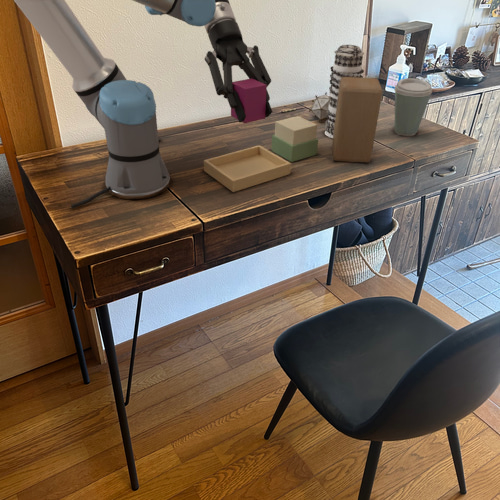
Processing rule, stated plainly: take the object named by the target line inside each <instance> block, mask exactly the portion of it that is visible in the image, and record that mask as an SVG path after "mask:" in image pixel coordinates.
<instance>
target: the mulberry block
mask: <svg viewBox="0 0 500 500" xmlns="http://www.w3.org/2000/svg"><path fill="white" fill-rule="evenodd" d="M232 85H233V91H232V92H234V91H237V93H238V96H239V99H240V101H241V104H242V107H243V109H244V112H245V115H246V118H245V119H244V120H243V122H242V123H243V124H249V123H253V122H258V121H261V120H265V119H266V117H265V116H266V89H267V88H268V87H267V85H266V84H263V83H261V82H259V81H257V80H254V79H252V78H251V79H249V78H246V79H241V80H235V81H232ZM267 90H268V89H267ZM230 117H233V118H234V119H235V120H238V118H237V115H236V112H235V110H234V108H233V109H232V108H231V107H230Z"/></svg>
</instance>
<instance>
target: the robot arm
mask: <svg viewBox="0 0 500 500" xmlns="http://www.w3.org/2000/svg"><path fill="white" fill-rule="evenodd" d="M13 1H14V3H15V4H16V5H17V7H18V9H20V11H21V13H23V15H24V16H25V17H26V19H27V20H28V22H30V24H31V25H32V27H33V28H34V29H35V31H36V32H37V33H38V35H40V37H41V38H42V40H43V41H44V42H45V44H46V45H47V46H48V48H49V49H50V50H51V51H52V53H53V54H54V56H55V57H56V58H57V59H58V60H59V62H60V63H61V65H62V66H63V67H64V69H65V70H66V71H67V73H68V74H69V75H70V76H71V78H72V84H71V85H72V90H73V91H74V93H75V94H76V95H77V96H78V97H79V99H80V100H81V101H82V103H83V104H84V105H85V108H86V110H87V111H88V112H89V113H90V114H91V115H92V116H93V117H94V118H95V119H96V121H97V122H99V124H100V126H101V127H102V128H103V129H104V130H103V131H104V134H105V140H106V146H107V152H108V161H107V167H106V172H105V179H104V180H105V181H104V182H105V188H103V189H102V190H100V191H98V192H96V193H94V194H92V195H90V196H89V197H87V198H86V199H83V200H81V201H79V202H76V203H72V204H70V207H71V209H75V208H77V207H81V206H84V205H86V204H88V203H90V202H92V201H93V200H95V199H96V198H98V197H100V196H102V195H104V194H106V193H108V194H110V195H111V196H113V197H116V198H119V199H122V200H123V199H124V200H143V199H149V198H152V197H156V196H158V195H160V194H162V193H164V192H165V191H167V190H168V188H169V187H170V185H171V177H170V173H169V171H168V169H167V165H166V163H165V161H164V159H163V158H162V155H161V151H160V142H159V141H158V139H159V131H158V122H157V121H158V120H157V119H158V118H157V103H156V100H155V96H154V92H153V90H152V89H151V88H150V86H148V85H147V84H145V83H143V82H140V81H138V82H137V81H136V80H130V79H127V78H126V77H125V75H124V73H123V72H122V70H121V68H119V66H118V64H117V63H116V62H115V60H114V59H111V58H108V57H104V55H103V54H102V52H101V51H100V50H99V48H98V47H97V45H96V44H95V42H94V41H93V39H92V38H91V36H90V35H89V34H88V32H87V31H86V29H85V28H84V26H83V25H82V23H81V22H80V21H79V19H78V17H77V16H76V15H75V13H74V12H73V10H72V8H71V7H70V5H69V4H68V3H67V1H66V0H13ZM132 2H135V3H137V4H139V5H143V6H144V8H145V10H146V12H147V13H148V14H149V15H151V16H163V15H167V16H170V17H171V18H174V19H177V20H179V21H182V22H185V24H187V25H189V26H192V27H198V28H199V27H204V28H205V32H206V34H207V37H208V40H209V42H210V45H211V47H212V49H213V51H211V50H208V51H207V52H206V55H205V57H204V61H205V63H206V64H207V66H208V68H209V72H210V75H211V78H212V82H213V85H214V89H215V92H216V95H217V96H223V98H224V99H226V100H227V102H228V104H229V108H230V109H231V108H232V109H233V108H234V110H235V112H236V115H237V118H238V119H237V121H238V123H243V120H244V119H245V118H246V115H245V112H244V109H243V107H242V104H241V101H240V99H239V96H238V93H237V91H234V92H232V91H233V85H232V82H233V66H236V67H237V66H238V67H239V70H242V71H243V72H244V74H245V75H246V76H247V78H248V79H251V78H252V79H254V80H257V81H259V82H261V83H263V84H266V85H267V88H268V87H269V85H270V84H271V83H272V78H271V76H270V74H269V72H268V70H267V68H266V66H265V64H264V62H263V59H262V57H261V55H260V49H259V47H258V45H254V46H253V47H251V46H248V45H247V44H246V43H245V42H244V40H243V34H242V31H241V29H240V26H239V24H238V22H237V18H236V16H235V14H234V11H233V8H232V6H231V4H230V1H229V0H132ZM218 61H220V62H221V64H222V73H223V76H222V74H221V70H220V66H219V63H218ZM270 100H271V97H270V94H269V91H268V89H266V116H265V118H269V117H270V115H271V114H272V113H273V109H272V107H271V105H270Z"/></svg>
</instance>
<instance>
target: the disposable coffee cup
mask: <svg viewBox="0 0 500 500" xmlns="http://www.w3.org/2000/svg"><path fill="white" fill-rule="evenodd" d="M393 90H394V132H395V134H397V135H400V136H403V137H413V136H415V135H416V134H417V133H418V131H419V128H420V125H421V123H422V120H423V118H424V115H425V111H426V109H427V107H428V103H429V101H430V98H431V95H432V93H433V88H432V86H431V85H430V82H427V81H425V80H423V79H419V78H414V77H413V78H411V77H410V78H409V77H408V78H402V79H399V80H398V81H397V83H396V85H395V86H394V89H393Z"/></svg>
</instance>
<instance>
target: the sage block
mask: <svg viewBox="0 0 500 500" xmlns="http://www.w3.org/2000/svg"><path fill="white" fill-rule="evenodd" d="M318 146H319V139H318V138H317V137H316V139H314V140H310V141H307V142H303V143H300V144H296V145H291V144H290V143H288V142H286V141H284V140H282V139H280V138H278V137H277V136H275V134H272V135H271V148H270V149H271V150H270V152H272V153H274V154H276V155H277V156H279V157H281V158H283V159H284V160H286V161H288V162H290V163H294V162H296V161H299V160H304V159H307V158H310V157H313V156H317V154H318V148H319V147H318Z"/></svg>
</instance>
